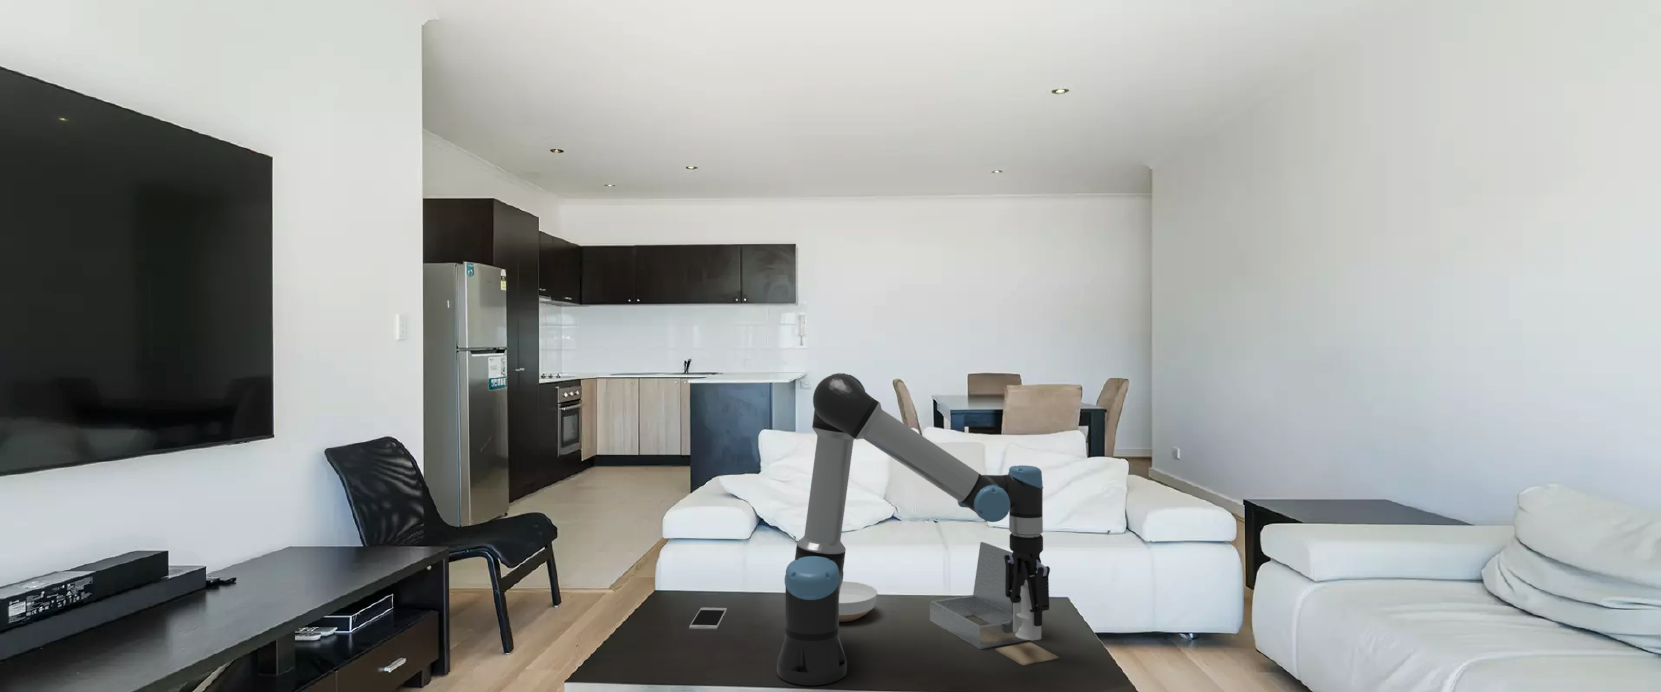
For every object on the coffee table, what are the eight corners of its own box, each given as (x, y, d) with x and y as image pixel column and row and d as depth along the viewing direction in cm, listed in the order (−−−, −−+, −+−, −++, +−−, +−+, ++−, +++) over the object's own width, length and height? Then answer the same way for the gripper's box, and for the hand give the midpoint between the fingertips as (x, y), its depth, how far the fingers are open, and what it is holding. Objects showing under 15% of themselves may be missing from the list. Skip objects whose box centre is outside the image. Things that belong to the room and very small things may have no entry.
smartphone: (727, 610, 210) (727, 607, 210) (716, 630, 195) (716, 627, 195) (701, 610, 211) (701, 607, 211) (688, 630, 195) (688, 626, 195)
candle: (1016, 630, 182) (1016, 579, 182) (1040, 633, 180) (1039, 581, 180) (1013, 638, 177) (1013, 585, 177) (1037, 641, 175) (1037, 588, 175)
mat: (1022, 665, 172) (1022, 663, 172) (995, 650, 181) (995, 648, 181) (1058, 658, 176) (1058, 656, 176) (1029, 643, 185) (1029, 642, 185)
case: (982, 650, 181) (982, 569, 181) (929, 620, 202) (929, 547, 202) (1040, 640, 188) (1039, 561, 188) (983, 612, 209) (983, 541, 209)
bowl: (878, 604, 215) (878, 582, 215) (875, 628, 196) (875, 604, 196) (808, 602, 217) (809, 580, 217) (799, 625, 198) (799, 601, 198)
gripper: (1066, 540, 172) (1067, 645, 172) (1014, 524, 189) (1015, 620, 188) (1039, 543, 169) (1040, 651, 169) (988, 527, 186) (989, 625, 185)
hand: (1026, 634), depth 179 cm, fingers closed on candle, 5 cm apart
